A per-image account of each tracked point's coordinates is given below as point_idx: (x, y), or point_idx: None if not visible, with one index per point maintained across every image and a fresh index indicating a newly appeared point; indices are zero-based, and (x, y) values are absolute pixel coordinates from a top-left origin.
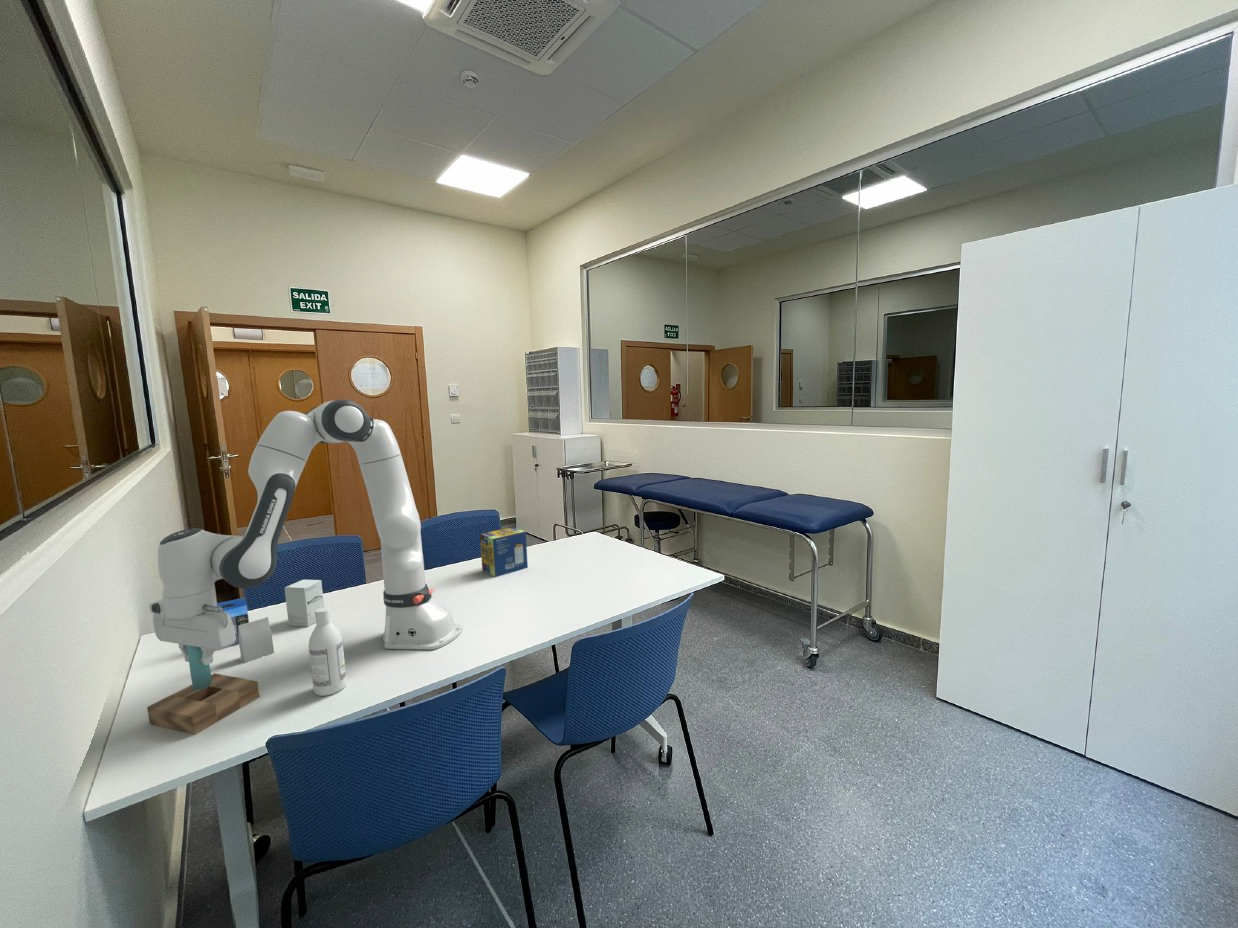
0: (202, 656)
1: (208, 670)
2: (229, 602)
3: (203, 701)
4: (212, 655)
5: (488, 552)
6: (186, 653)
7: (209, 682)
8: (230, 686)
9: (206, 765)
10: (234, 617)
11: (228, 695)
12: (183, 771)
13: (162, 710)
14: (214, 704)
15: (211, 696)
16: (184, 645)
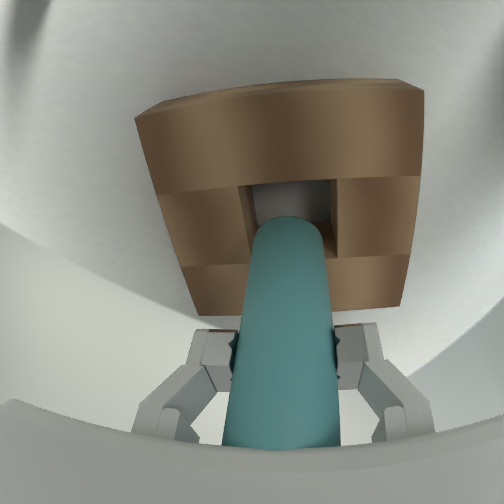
0: (366, 397)
1: (327, 283)
2: None
3: (349, 255)
4: (381, 351)
5: None
6: (210, 395)
7: (322, 245)
8: (347, 157)
9: (490, 306)
10: None
11: (407, 206)
12: (463, 325)
13: None
14: (408, 254)
15: (344, 227)
16: (195, 442)
